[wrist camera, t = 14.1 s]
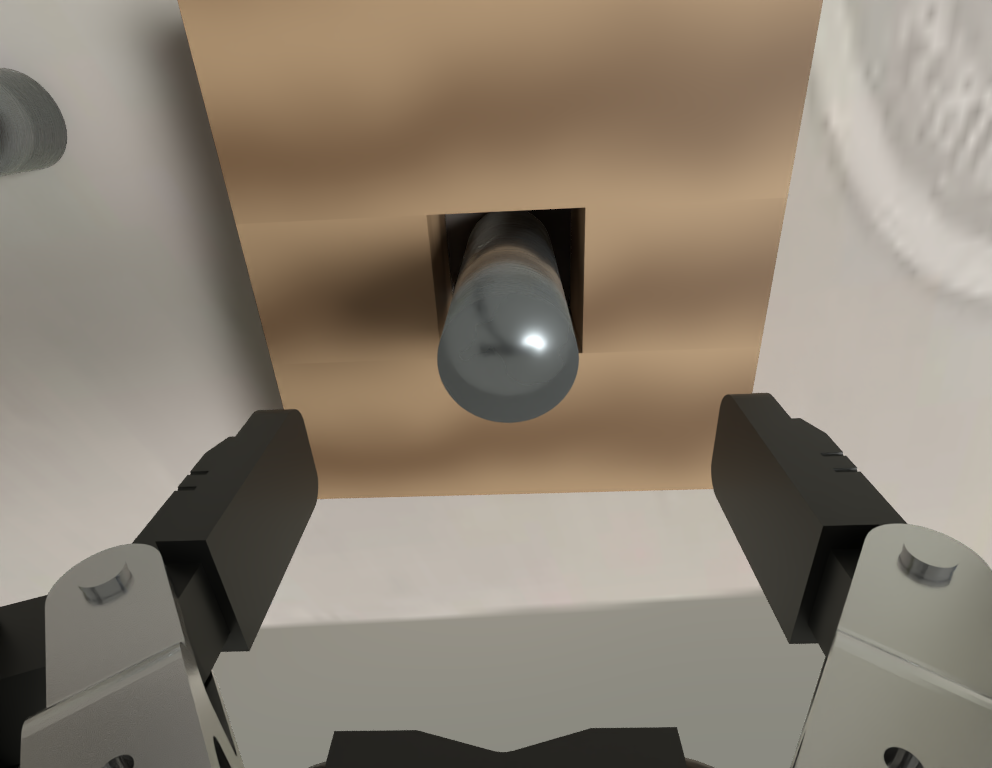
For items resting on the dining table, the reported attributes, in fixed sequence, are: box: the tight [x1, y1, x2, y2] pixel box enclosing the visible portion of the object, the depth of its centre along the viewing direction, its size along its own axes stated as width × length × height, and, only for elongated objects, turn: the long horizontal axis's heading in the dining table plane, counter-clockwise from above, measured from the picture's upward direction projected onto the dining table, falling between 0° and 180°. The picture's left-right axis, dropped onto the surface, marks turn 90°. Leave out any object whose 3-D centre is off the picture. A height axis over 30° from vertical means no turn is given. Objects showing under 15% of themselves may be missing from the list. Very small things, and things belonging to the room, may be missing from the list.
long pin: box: [437, 210, 579, 423], centre depth 19 cm, size 4×4×11 cm
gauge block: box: [178, 0, 823, 499], centre depth 22 cm, size 18×18×5 cm
